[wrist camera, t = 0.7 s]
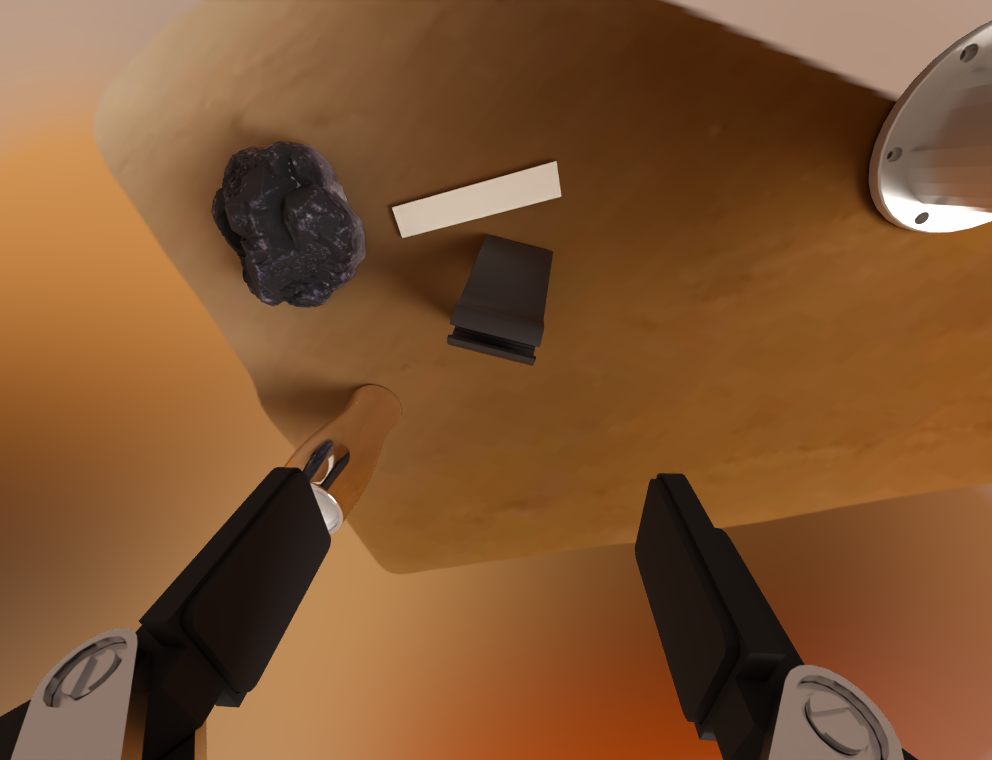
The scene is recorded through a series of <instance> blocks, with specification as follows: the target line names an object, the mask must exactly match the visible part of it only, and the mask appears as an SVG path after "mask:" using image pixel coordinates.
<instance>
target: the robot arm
mask: <svg viewBox="0 0 992 760" xmlns="http://www.w3.org/2000/svg"><path fill="white" fill-rule="evenodd" d="M869 187H870V193H871V197H872V199H873V202H874V204H875V206H876V208H877V210H878V211H879V212H880V213H881V214H882V215H883V216H884V217H885V219H886V220H888V221H890V222H891V223H893V224H895V225H896V226H898V227H901V228H905V229H908V230H912V231H919V232H927V233H949V232H955V231H960V230H965V229H970V228H973V227H976V226H978V225H981V224H984V223H987V222H990V221H992V21H990V22H988V23H986V24H984V25H982V26H980V27H978V28H977V29H975V30H974V31H972V32H971V33H969V34H967V35H966V36H964V37H962V38H961V39H959V40H958V41H956V42H955V43H954V44H953V45H951V46H950V47H949V48H948V49H946V50H945V51H944V52H943V53H942V54H940V55H939V56H938V57H937V58H935V59H934V60H933V61H932V62H931V63H930V64H929V65H928V66H927V67H926V68H925V69H924V70H923V71H922V72H921V73H920V74H919V75H918V76H917V77H916V78H915V79H914V80H913V82H912V83H911V84H910V85H909V87H908V88H907V89H906V90H905V92H904V93H903V94H902V96H901V97H900V98H899V99H898V101H897V102H896V104H895V105H894V107H893V109H892V110H891V112H890V114H889V115H888V117H887V119H886V120H885V122H884V124H883V126H882V128H881V131H880V133H879V135H878V137H877V140H876V142H875V145H874V148H873V152H872V156H871V160H870V166H869ZM330 543H331V537H330V534H329V531H328V528H327V526H326V523H325V521H324V518H323V515H322V513H321V510H320V508H319V505H318V502H317V500H316V497H315V495H314V492H313V489H312V487H311V484H310V482H309V479H308V476H307V475H306V474H305V473H303V472H302V470H301V469H300V468H296V467H277V468H274V469H273V470H272V471H271V472H270V473H269V474H268V475H267V476H266V477H265V479H264V480H263V481H262V482H261V483H260V484H259V485H258V487H257V488H256V489H255V490H254V491H253V492H252V493H251V494H250V496H249V497H248V498H247V499H246V500H245V501H244V502H243V503H242V505H241V506H240V507H239V508H238V509H237V510H236V511H235V513H234V514H233V515H232V516H231V517H230V518H229V519H228V521H227V522H226V523H225V524H224V525H223V526H222V527H221V529H220V530H219V531H218V532H217V533H216V534H215V535H214V536H213V537H212V539H211V540H210V541H209V542H208V543H207V544H206V546H205V547H204V548H203V549H202V550H201V551H200V552H199V553H198V554H197V556H196V557H195V558H194V559H193V560H192V561H191V562H190V564H189V565H188V566H187V567H186V568H185V569H184V570H183V571H182V573H181V574H180V575H179V576H178V577H177V578H176V579H175V580H174V582H173V583H172V584H171V585H170V586H169V587H168V588H167V589H166V591H165V592H164V593H163V594H162V595H161V596H160V597H159V599H158V600H157V601H156V602H155V603H154V604H153V605H152V606H151V608H150V609H149V610H148V611H147V612H146V613H145V614H144V616H143V617H142V618H141V619H140V620H139V622H140V623H141V624H142V626H141V627H140V628H139V629H138V630H137V631H136V633H134V632H133V631H132V630H131V629H125V628H120V629H114V630H109V631H107V632H104V633H102V634H99V635H97V636H95V637H93V638H91V639H90V640H88V641H86V642H84V643H82V644H81V645H79V646H78V647H77V648H75V649H74V650H73V651H71V652H70V653H69V654H67V655H66V656H65V657H64V658H62V659H61V660H60V661H59V662H58V663H57V664H56V665H55V666H54V667H53V668H52V669H51V670H50V671H49V672H48V674H47V675H46V676H45V677H44V679H43V680H42V681H41V682H40V684H39V685H38V687H37V689H36V691H35V693H34V695H33V697H32V699H31V700H29V701H27V702H26V703H24V704H22V705H20V706H18V707H17V708H15V709H13V710H11V711H10V712H8V713H6V714H4V715H3V716H1V717H0V760H207V744H206V743H207V741H206V740H207V739H206V718H207V717H208V715H209V713H210V712H211V710H212V708H213V707H214V705H216V706H226V707H239V706H240V705H241V703H242V701H243V699H244V697H245V695H246V694H247V692H250V691H251V690H252V689H253V688H254V687H255V686H256V685H257V683H258V681H259V679H260V677H261V676H262V674H263V672H264V670H265V668H266V666H267V665H268V663H269V661H270V659H271V657H272V655H273V653H274V651H275V650H276V648H277V646H278V644H279V642H280V640H281V638H282V636H283V635H284V633H285V631H286V629H287V627H288V625H289V623H290V621H291V620H292V618H293V616H294V614H295V612H296V610H297V608H298V606H299V604H300V603H301V601H302V599H303V597H304V595H305V593H306V591H307V590H308V588H309V586H310V584H311V582H312V580H313V578H314V576H315V575H316V573H317V571H318V569H319V567H320V565H321V563H322V561H323V559H324V558H325V556H326V554H327V552H328V550H329V548H330ZM635 555H636V560H637V564H638V567H639V570H640V574H641V577H642V580H643V584H644V587H645V590H646V593H647V597H648V600H649V603H650V606H651V609H652V613H653V616H654V620H655V623H656V626H657V629H658V632H659V636H660V639H661V642H662V646H663V649H664V652H665V655H666V659H667V662H668V665H669V669H670V672H671V675H672V678H673V681H674V685H675V688H676V691H677V695H678V698H679V701H680V705H681V708H682V711H683V713H684V715H685V718H686V719H687V721H689V722H694V724H695V726H696V730H697V733H698V736H699V739H700V740H712V741H717V743H718V746H719V749H720V751H721V754H722V757H723V760H918V759H916V758H915V757H914V756H912V755H911V754H909V753H908V752H907V751H905V750H904V749H902V748H901V744H900V742H899V739H898V737H897V735H896V734H895V731H894V729H893V727H892V726H891V724H890V723H889V721H888V720H887V719H886V717H885V716H884V715H883V713H882V712H881V711H880V709H879V708H878V707H877V706H876V705H875V704H874V703H873V702H872V701H871V700H870V699H869V698H868V697H867V696H866V695H865V694H864V693H863V692H862V691H861V690H860V689H859V688H857V687H856V686H854V685H853V684H852V683H850V682H849V681H847V680H846V679H845V678H843V677H841V676H839V675H838V674H835V673H834V672H831V671H830V670H827V669H825V668H821V667H817V666H814V665H804V663H803V661H802V660H801V658H800V656H799V654H798V653H797V651H796V650H795V648H794V646H793V644H792V643H791V641H790V639H789V638H788V636H787V634H786V633H785V631H784V629H783V627H782V626H781V624H780V622H779V621H778V619H777V617H776V616H775V614H774V612H773V611H772V609H771V607H770V605H769V604H768V602H767V600H766V599H765V597H764V595H763V594H762V592H761V590H760V588H759V587H758V585H757V583H756V582H755V580H754V578H753V577H752V575H751V573H750V572H749V570H748V568H747V567H746V565H745V563H744V561H743V560H742V558H741V556H740V555H739V553H738V551H737V550H736V548H735V546H734V544H733V543H732V541H731V539H730V538H729V537H728V535H727V534H726V532H724V531H723V530H722V529H719V528H714V526H713V524H712V523H711V521H710V519H709V517H708V515H707V514H706V512H705V510H704V508H703V507H702V505H701V503H700V501H699V500H698V498H697V496H696V494H695V492H694V491H693V489H692V487H691V485H690V484H689V482H688V480H687V478H686V477H685V476H684V475H683V474H666V473H660V474H658V475H657V477H656V479H651V480H650V482H649V486H648V491H647V495H646V500H645V504H644V509H643V513H642V518H641V522H640V527H639V531H638V536H637V540H636V545H635Z"/></svg>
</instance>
